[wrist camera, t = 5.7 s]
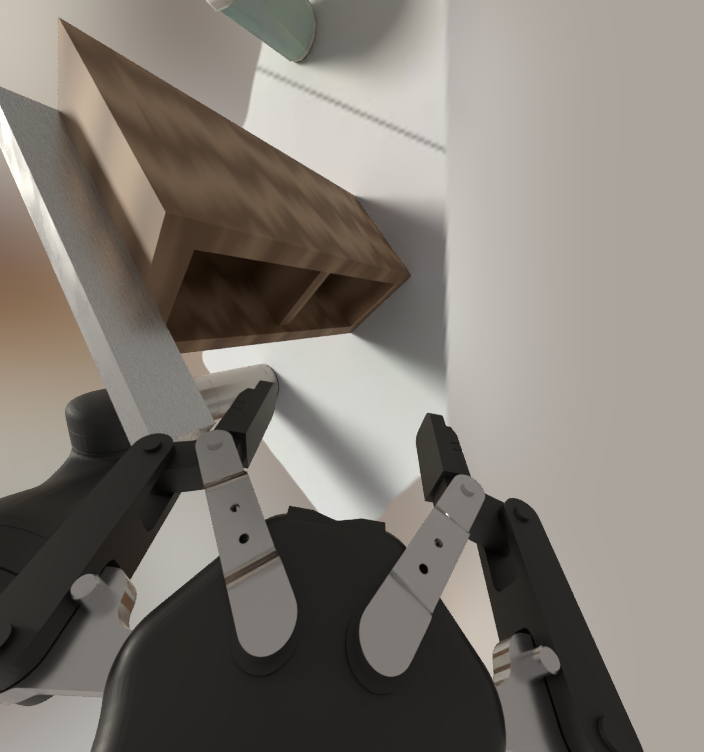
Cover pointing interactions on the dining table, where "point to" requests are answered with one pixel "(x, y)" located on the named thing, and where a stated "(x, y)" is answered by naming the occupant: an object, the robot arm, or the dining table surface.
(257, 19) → the disposable coffee cup
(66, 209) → the metal bar
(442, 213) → the dining table surface
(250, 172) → the walnut shelf
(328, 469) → the dining table surface
